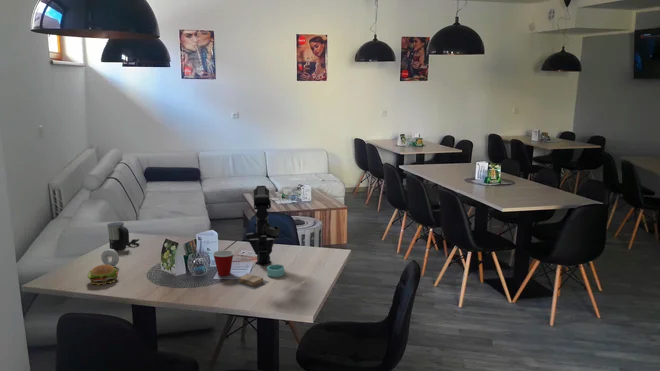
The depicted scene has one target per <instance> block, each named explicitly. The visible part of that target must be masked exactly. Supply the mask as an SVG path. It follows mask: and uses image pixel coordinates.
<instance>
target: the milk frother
mask: <svg viewBox="0 0 660 371" xmlns="http://www.w3.org/2000/svg"><path fill="white" fill-rule="evenodd" d="M124 224H125V223H124V222H121V221H118V222H117V221H115V222H110V223H107V225H106V226H107V232H108V233H107V234H108V241H109V248H110V249H120V250H123V249H126V248H127V246H129V245H131V244H133V243H134V244H136V243H137V242H139V241H140V239H139V238H138V239H137V238H135V239H131V241H130V235H129V234H130V232H129V229H128V228H127V227H126V226H125V225H124Z"/></svg>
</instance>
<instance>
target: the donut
mask: <svg viewBox="0 0 660 371" xmlns="http://www.w3.org/2000/svg"><path fill="white" fill-rule="evenodd" d="M109 256H110V257H111V260H110V259H109ZM100 258H101V261H102V264H103V265H111V266H114V267H116V266H117V265H118V264H119V261H120V255H119V253H118V252H117V250H113V249H109V248H106V249H104V250H103V251H102V252H101V255H100Z"/></svg>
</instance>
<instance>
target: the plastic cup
mask: <svg viewBox="0 0 660 371" xmlns="http://www.w3.org/2000/svg"><path fill="white" fill-rule="evenodd" d="M212 255H213V258H214V262H215V266H216V271H217V275H218V276H220V277H227V276H230V274H231V271H232V270H231V269H232V263H233V257H234V255H235V252H234V251H233V250H217V251H213V253H212Z"/></svg>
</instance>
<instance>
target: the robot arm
mask: <svg viewBox="0 0 660 371" xmlns="http://www.w3.org/2000/svg"><path fill="white" fill-rule="evenodd" d="M271 208H272V200H271V199H270V189H268V188H267V185H257V186H256V187H255V189H254V190H253V210H256V212H255V219H256V220H255V223H254V227H256V228H255V229H256V232H248V233H246V234H245V240H246V241H247V242H248V243H249V245H250V247H251V248H252V250H253V252H254V253H255V255H256V259H257V260H256V262H255V264H256V265H260V266H267V265H268V264H271V263H272V261H271V256H270V255H271V253H273V247H274V245H275V244H274V243H276V242H277V241H278V240H279V239H280V235H279V234H280V233H281V229H280V228H281V227H280V226H277V225H275V226H274V227H272V224H271V223H269V212H268V210H270V209H271Z"/></svg>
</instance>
